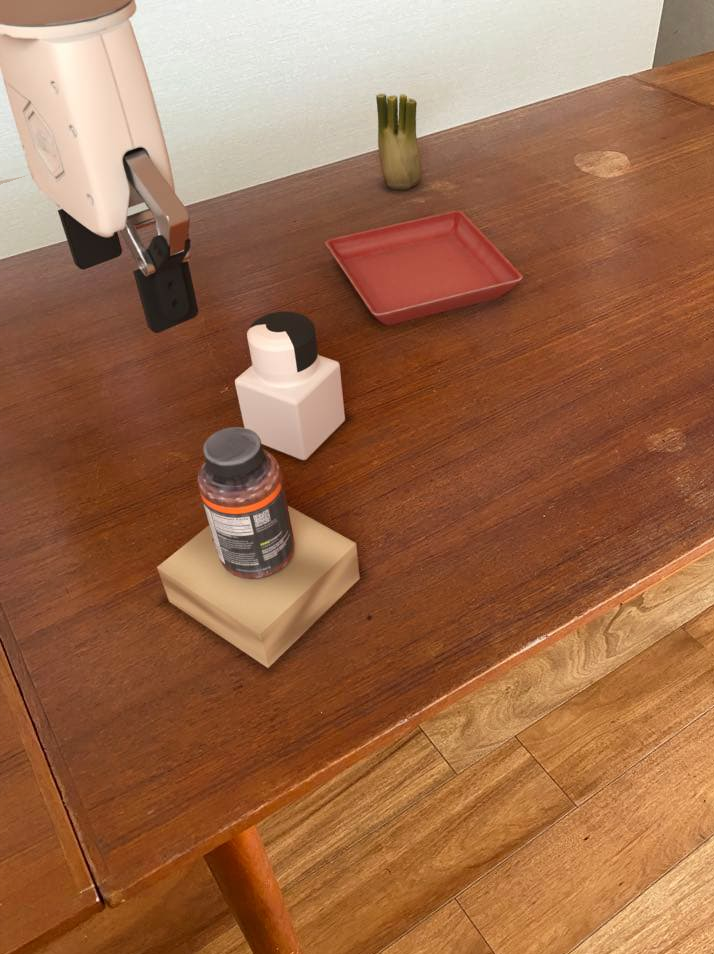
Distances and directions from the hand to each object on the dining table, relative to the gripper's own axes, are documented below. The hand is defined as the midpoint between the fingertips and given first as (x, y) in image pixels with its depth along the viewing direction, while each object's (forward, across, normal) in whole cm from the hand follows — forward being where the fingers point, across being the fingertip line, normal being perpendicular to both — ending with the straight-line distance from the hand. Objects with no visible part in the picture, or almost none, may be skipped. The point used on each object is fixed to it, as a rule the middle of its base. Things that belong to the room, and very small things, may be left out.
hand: (135, 290), depth 55 cm
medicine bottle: (+26, -8, +15) cm, 31 cm away
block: (+25, +7, +2) cm, 26 cm away
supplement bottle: (+21, +7, +2) cm, 22 cm away
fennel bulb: (+26, -42, +57) cm, 75 cm away
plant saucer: (+25, -21, +42) cm, 53 cm away
